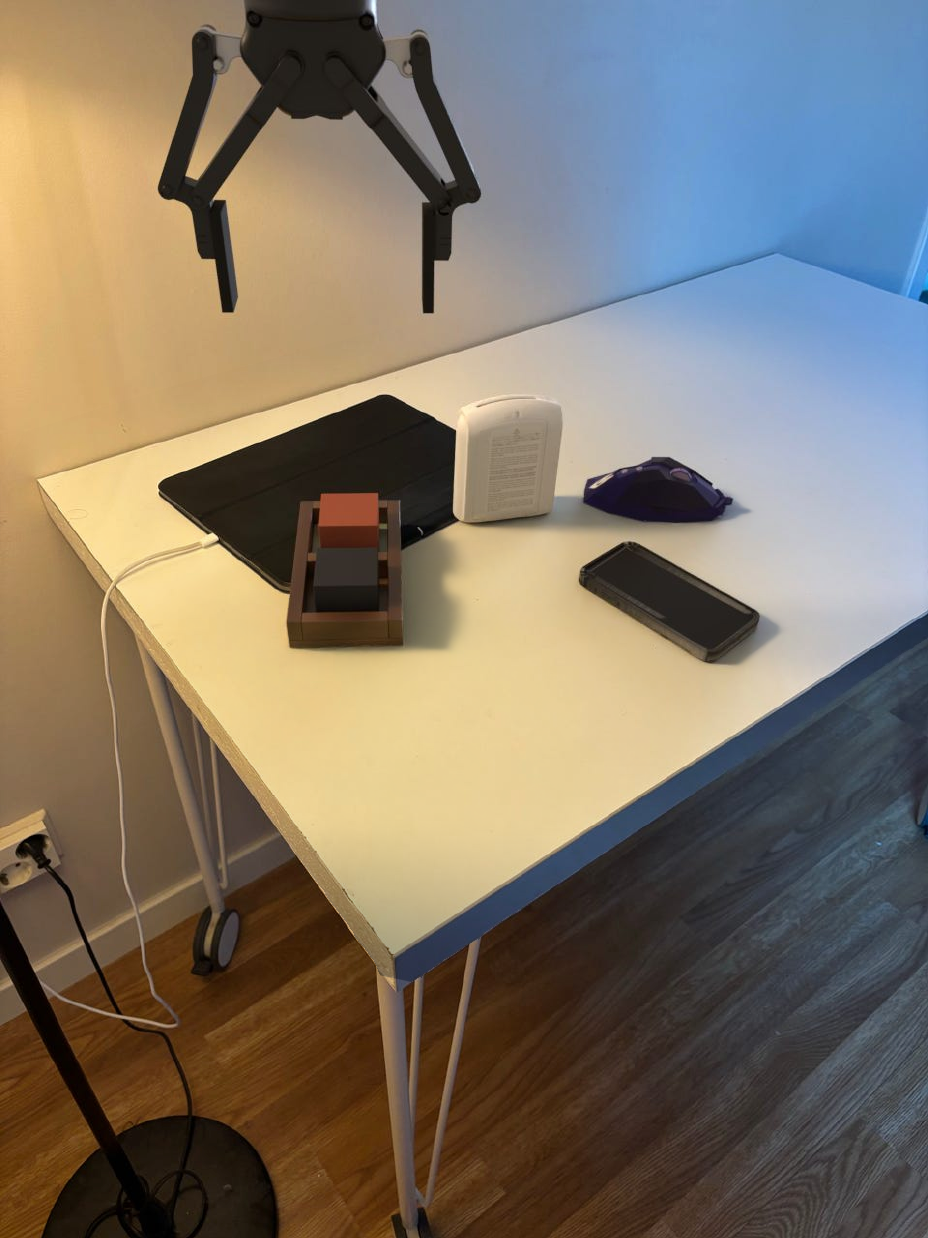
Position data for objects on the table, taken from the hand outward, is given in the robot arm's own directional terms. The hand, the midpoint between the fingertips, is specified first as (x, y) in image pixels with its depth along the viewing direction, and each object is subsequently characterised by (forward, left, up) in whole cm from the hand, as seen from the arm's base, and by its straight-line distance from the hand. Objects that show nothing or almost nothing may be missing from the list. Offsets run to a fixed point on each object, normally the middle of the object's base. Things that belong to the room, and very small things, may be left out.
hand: (329, 305), depth 66 cm
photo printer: (+15, +14, -27) cm, 34 cm away
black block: (0, -1, -26) cm, 26 cm away
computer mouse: (+31, +16, -27) cm, 44 cm away
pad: (0, +7, -26) cm, 27 cm away
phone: (+28, -1, -27) cm, 39 cm away
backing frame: (0, +3, -27) cm, 27 cm away
